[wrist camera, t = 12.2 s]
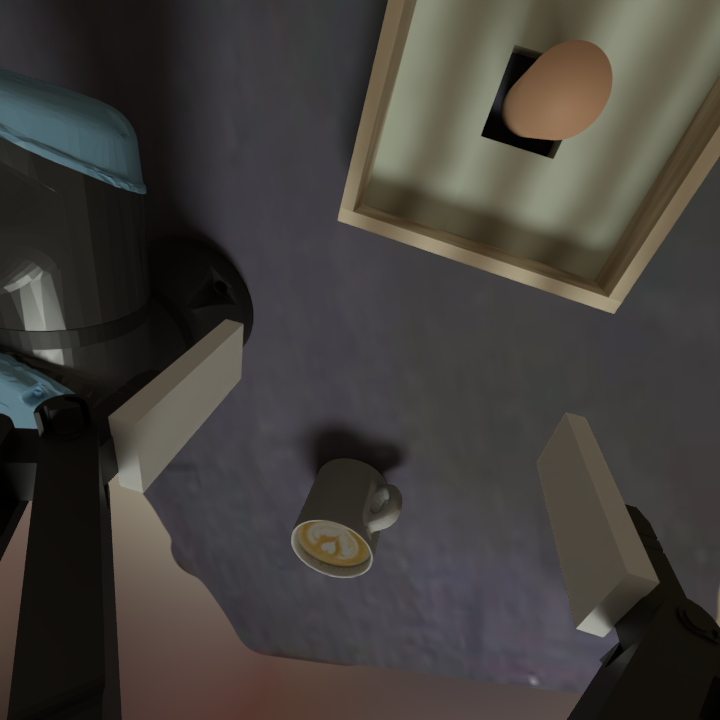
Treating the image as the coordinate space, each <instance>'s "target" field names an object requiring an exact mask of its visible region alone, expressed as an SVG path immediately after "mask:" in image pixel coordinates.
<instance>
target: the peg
mask: <svg viewBox="0 0 720 720" xmlns="http://www.w3.org/2000/svg"><path fill="white" fill-rule="evenodd" d="M612 80H613V76H612V68H611V64H610V62H609V59H608V57H607V56H606V54H605V53H604V52H603V50H602V49H601V48H599V47H598V46H597V45H595V44H593V43H591V42H588V41H584V40H570V41H566V42H562V43H560V44H557V45H556V46H554V47H552V48H550V49H549V50H547V51H546V52H545V53H544V54H542V55H541V56H540V57H539V58H538V59H537V60H536V61H535V63H534V64H533V65H532V66H531V67H530V68H529V69H528V70H527V71H526V72H525V73H524V74H523V75H522V76H521V78H520V79H519V80H518V81H517V82H516V83H515V84H514V85H513V86H512V87H511V88H510V90H509V91H508V92H507V94H506V96H505V98H504V101H503V104H502V110H501V115H502V121H503V123H504V126H505V127H506V129H507V130H508V131H509V132H510V133H512V134H513V135H516V136H519V137H527V138H536V139H546V140H563V139H567V138H570V137H573V136H575V135H577V134H579V133H581V132H583V131H584V130H585V129H587V128H588V127H589V126H590V125H591V124H592V123H593V122H594V121H595V120H596V119H597V118H598V117H599V115H600V114H601V113H602V111H603V109H604V108H605V106H606V104H607V101H608V99H609V96H610V93H611V89H612Z"/></svg>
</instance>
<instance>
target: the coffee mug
mask: <svg viewBox="0 0 720 720" xmlns="http://www.w3.org/2000/svg"><path fill="white" fill-rule="evenodd" d="M387 499H389V501H388V503H387V505H386V502H387ZM401 508H402V495H401V493H400V491H399V490H398V488H397V487H396V486H394V485H391V484H386V482H385V480H384V478H383V477H382V475H381V474H380V473H379V472H378V471H377V470H376V469H374V468H373V467H372V466H370V465H368V464H366V463H364V462H362V461H358V460H355V459H348V458H340V459H334V460H331V461H329V462H327V463H326V464H324V465H323V466H322V467H321V469H320V470H319V472H318V475H317V477H316V479H315V481H314V484H313V486H312V488H311V490H310V493H309V495H308V497H307V499H306V502H305V504H304V506H303V508H302V511H301V513H300V515H299V517H298V520H297V522H296V524H295V526H294V529H293V531H292V534H291V544H292V547H293V550H294V551H295V553H296V554H297V556H298V557H299V558H300V559H301V560H302V561H303V562H304V563H305V564H307V565H308V566H310V567H311V568H313V569H315V570H316V571H318V572H321V573H323V574H326V575H329V576H333V577H340V578H351V577H357V576H359V575H362V574H364V573H365V572H367V571H368V570H369V569H370V567H371V565H372V563H373V560H374V555H375V551H376V546H377V542H378V538H379V533H380V530H382V529H385V528H387V527H389V526H390V525H392V524H393V523H394V522H395V521H396V520H397V518H398V516H399V514H400V512H401Z"/></svg>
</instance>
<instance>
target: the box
mask: <svg viewBox="0 0 720 720" xmlns="http://www.w3.org/2000/svg"><path fill="white" fill-rule="evenodd" d="M570 40H584V41H588V42H591V43H593V44H595V45H597V46H598V47H599V48H601V49H602V50H603V52H604V53H605V54H606V56H607V57H608V59H609V62H610V64H611V68H612V76H613V80H612V89H611V93H610V96H609V99H608V101H607V104H606V106H605V108H604V109H603V111H602V113H601V114H600V115H599V117H598V118H597V119H596V120H595V121H594V122H593V123H592V124H591V125H590V126H589V127H588V128H587V129H585V130H584V131H583V132H581V133H579V134H577V135H575V136H573V137H570V138H567V139H563V140H555V141H554V143H553V145H552V147H551V149H550V152H549V154H548V156H547V157H545V156H542V155H539V154H536V153H532V152H529V151H526V150H523V149H520V148H517V147H514V146H510V145H507V144H504V143H501V142H498V141H495V140H491V139H488V138H485V137H482V136H481V134H482V131H483V128H484V126H485V123H486V120H487V118H488V115H489V112H490V110H491V107H492V104H493V102H494V99H495V96H496V94H497V91H498V88H499V86H500V83H501V80H502V78H503V75H504V72H505V70H506V67H507V64H508V62H509V59H510V56H511V54H512V52H513V53H516V54H519V55H523V56H526V57H529V58H533V59H536V60H537V59H538V58H539V57H540V56H541V55H542V54H544V53H545V52H546V51H547V50H549V49H550V48H552V47H554V46H556V45H557V44H560V43H562V42H566V41H570ZM719 156H720V0H388V3H387V8H386V12H385V16H384V21H383V25H382V29H381V34H380V38H379V42H378V47H377V51H376V55H375V60H374V64H373V68H372V73H371V77H370V81H369V86H368V90H367V94H366V99H365V103H364V108H363V112H362V116H361V121H360V125H359V129H358V134H357V138H356V142H355V147H354V151H353V155H352V160H351V164H350V168H349V173H348V177H347V181H346V186H345V190H344V194H343V199H342V203H341V207H340V212H339V216H338V221H341V222H344V223H346V224H349V225H352V226H355V227H358V228H361V229H364V230H367V231H370V232H373V233H376V234H379V235H382V236H385V237H388V238H391V239H394V240H397V241H400V242H403V243H406V244H409V245H412V246H414V247H417V248H420V249H423V250H426V251H429V252H432V253H435V254H438V255H441V256H444V257H447V258H450V259H453V260H456V261H459V262H462V263H465V264H468V265H471V266H474V267H477V268H480V269H482V270H485V271H488V272H491V273H494V274H497V275H500V276H503V277H506V278H509V279H512V280H515V281H518V282H521V283H524V284H527V285H530V286H533V287H536V288H539V289H542V290H545V291H547V292H550V293H553V294H556V295H559V296H562V297H565V298H568V299H571V300H574V301H577V302H580V303H583V304H586V305H589V306H592V307H595V308H598V309H601V310H604V311H607V312H610V313H613V314H614V313H615V312H616V310H617V309H618V307H619V306H620V304H621V303H622V301H623V300H624V298H625V297H626V295H627V294H628V292H629V291H630V289H631V288H632V286H633V285H634V283H635V282H636V280H637V279H638V277H639V276H640V274H641V273H642V271H643V270H644V268H645V267H646V265H647V264H648V262H649V261H650V259H651V258H652V256H653V255H654V253H655V252H656V250H657V249H658V247H659V246H660V244H661V243H662V241H663V240H664V238H665V237H666V235H667V234H668V232H669V231H670V229H671V228H672V226H673V225H674V223H675V222H676V220H677V219H678V217H679V216H680V214H681V213H682V211H683V210H684V208H685V207H686V205H687V204H688V203H689V201H690V200H691V198H692V197H693V195H694V194H695V192H696V191H697V189H698V188H699V186H700V185H701V183H702V182H703V180H704V179H705V177H706V176H707V174H708V173H709V171H710V170H711V168H712V167H713V165H714V164H715V162H716V161H717V159H718V158H719Z"/></svg>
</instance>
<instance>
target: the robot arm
mask: <svg viewBox="0 0 720 720" xmlns="http://www.w3.org/2000/svg"><path fill="white" fill-rule="evenodd" d="M144 194H146V185H145V184H144V183H143V179H142V171H141V164H140V157H139V149H138V141H137V136H136V133H135V131H134V129H133V127H132V125H131V124H130V122H129V121H128V120H127V118H126V117H125V116H124V115H123V114H122V113H121V112H119V111H118V110H117V109H115V108H114V107H112V106H110V105H108V104H106V103H104V102H102V101H99V100H97V99H94V98H91V97H89V96H86V95H83V94H80V93H77V92H75V91H72V90H69V89H66V88H63V87H60V86H57V85H54V84H51V83H47V82H44V81H41V80H38V79H35V78H31V77H28V76H25V75H22V74H19V73H15V72H12V71H9V70H5V69H2V68H0V561H1V559H2V556H3V554H4V552H5V550H6V548H7V546H8V544H9V542H10V540H11V538H12V536H13V533H14V531H15V529H16V527H17V525H18V523H19V521H20V519H21V517H22V515H23V512H24V510H25V508H26V506H27V504H28V502H29V501H33V502H32V510H31V518H30V527H29V536H28V544H27V553H26V561H25V570H24V580H23V587H22V596H21V605H20V613H19V623H18V630H17V639H16V648H15V656H14V665H13V674H12V683H11V692H10V699H9V708H8V716H7V720H122V716H121V696H120V679H119V659H118V641H117V623H116V604H115V585H114V569H113V568H114V567H113V549H112V529H111V511H110V492H109V485H108V482H109V481H110V480H111V479H112V478H113V477H114V476H115V475H116V474H117V473H118V478H119V483H120V486H122V487H125V488H128V489H131V490H135V491H138V492H141V493H144V492H145V490H146V489H147V488H148V487H149V486H150V485H151V483H152V482H153V481H154V480H155V479H156V478H157V476H158V475H159V474H160V473H161V472H162V470H163V469H164V468H165V467H166V466H167V465H168V463H169V462H170V461H171V460H172V459H173V458H174V456H175V455H176V454H177V453H178V452H179V451H180V449H181V448H182V447H183V446H184V445H185V444H186V442H187V441H188V440H189V439H190V438H191V437H192V435H193V434H194V433H195V432H196V431H197V430H198V428H199V427H200V426H201V425H202V424H203V423H204V421H205V420H206V419H207V418H208V417H209V416H210V414H211V413H212V412H213V411H214V410H215V409H216V407H217V406H218V405H219V404H220V403H221V402H222V400H223V399H224V398H225V397H226V396H227V395H228V393H229V392H230V391H231V390H232V389H233V388H234V386H235V385H236V384H237V383H238V382H239V381H240V379H241V367H242V348H243V347H244V345H245V344H246V342H247V341H248V339H249V336H250V334H251V330H252V324H253V311H252V305H251V300H250V297H249V294H248V291H247V289H246V287H245V285H244V283H243V281H242V279H241V278H240V276H239V275H238V273H237V272H236V270H235V269H234V268H233V267H232V265H231V264H230V263H229V262H228V261H227V260H226V259H225V258H224V257H223V256H221V255H220V254H219V253H218V252H216V251H215V250H214V249H212V248H210V247H209V246H207V245H205V244H203V243H201V242H199V241H196V240H193V239H190V238H186V237H178V236H170V237H164V238H160V239H157V240H154V241H151V242H149V243H147V235H146V219H145V200H144ZM536 465H537V469H538V474H539V478H540V482H541V486H542V490H543V494H544V499H545V503H546V507H547V511H548V515H549V519H550V523H551V528H552V532H553V536H554V540H555V544H556V548H557V553H558V557H559V561H560V565H561V569H562V573H563V577H564V582H565V586H566V590H567V594H568V598H569V602H570V607H571V611H572V615H573V619H574V623H575V627H576V629H578V630H582V631H585V632H588V633H591V634H594V635H597V636H601V637H604V636H605V635H606V634H607V633H608V632H609V631H610V630H611V629H613V628H614V627H615V628H616V631H617V634H618V637H619V641H620V642H619V643H617V644H616V645H615V646H614V647H613V648H612V649H611V650H610V651H609V652H608V653H607V654H605V655H604V656H603V657H602V658H601V659H600V661H601V662H602V663H603V664H602V666H601V667H600V669H599V670H598V672H597V674H596V675H595V677H594V678H593V680H592V681H591V683H590V684H589V686H588V688H587V689H586V691H585V692H584V694H583V695H582V697H581V699H580V700H579V702H578V703H577V705H576V706H575V708H574V709H573V711H572V712H571V714H570V716H569V717H568V719H567V720H720V627H719V626H718V625H717V623H716V622H715V621H714V619H713V618H712V617H711V616H710V615H709V614H708V613H707V612H706V611H705V610H704V609H703V608H702V607H700V606H699V605H697V604H696V603H694V602H693V601H691V600H689V599H687V598H686V596H685V594H684V592H683V589H682V587H681V585H680V583H679V581H678V579H677V577H676V575H675V573H674V571H673V569H672V567H671V565H670V563H669V561H668V559H667V557H666V555H665V554H664V553H663V549H662V547H661V545H660V543H659V541H657V537H656V535H655V533H654V531H653V529H652V527H651V524H650V523H649V521H648V520H647V519H646V518H645V517H644V516H643V514H642V513H641V512H640V511H639V510H638V509H637V508H636V507H633V506H629V505H626V504H624V502H623V500H622V497H621V495H620V493H619V491H618V489H617V486H616V484H615V482H614V480H613V477H612V475H611V473H610V471H609V469H608V466H607V464H606V462H605V460H604V457H603V455H602V453H601V451H600V449H599V446H598V444H597V442H596V440H595V437H594V435H593V433H592V431H591V429H590V426H589V424H588V422H587V420H586V418H585V417H581V416H577V415H574V414H570V413H566V412H565V414H564V416H563V418H562V419H561V421H560V423H559V424H558V426H557V428H556V430H555V431H554V433H553V435H552V436H551V438H550V440H549V441H548V443H547V445H546V447H545V448H544V450H543V452H542V453H541V455H540V457H539V459H538V460H537V462H536Z"/></svg>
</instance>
